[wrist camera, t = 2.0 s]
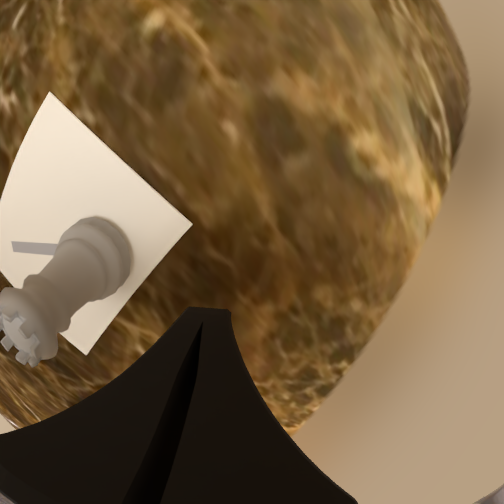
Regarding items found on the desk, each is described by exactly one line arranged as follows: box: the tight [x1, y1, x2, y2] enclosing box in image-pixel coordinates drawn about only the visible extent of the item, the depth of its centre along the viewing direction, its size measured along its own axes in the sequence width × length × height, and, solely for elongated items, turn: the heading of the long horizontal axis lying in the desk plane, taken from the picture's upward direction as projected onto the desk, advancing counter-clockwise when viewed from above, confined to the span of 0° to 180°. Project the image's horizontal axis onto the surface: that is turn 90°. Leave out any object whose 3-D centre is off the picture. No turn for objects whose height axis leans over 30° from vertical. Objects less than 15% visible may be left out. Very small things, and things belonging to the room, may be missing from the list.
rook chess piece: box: [0, 217, 131, 367], centre depth 10 cm, size 4×4×8 cm
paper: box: [0, 92, 193, 355], centre depth 13 cm, size 14×12×1 cm
